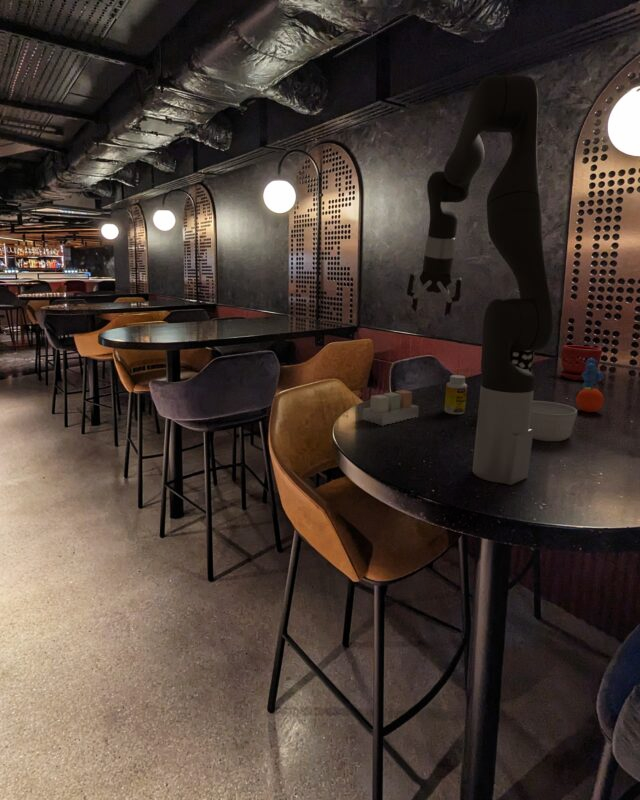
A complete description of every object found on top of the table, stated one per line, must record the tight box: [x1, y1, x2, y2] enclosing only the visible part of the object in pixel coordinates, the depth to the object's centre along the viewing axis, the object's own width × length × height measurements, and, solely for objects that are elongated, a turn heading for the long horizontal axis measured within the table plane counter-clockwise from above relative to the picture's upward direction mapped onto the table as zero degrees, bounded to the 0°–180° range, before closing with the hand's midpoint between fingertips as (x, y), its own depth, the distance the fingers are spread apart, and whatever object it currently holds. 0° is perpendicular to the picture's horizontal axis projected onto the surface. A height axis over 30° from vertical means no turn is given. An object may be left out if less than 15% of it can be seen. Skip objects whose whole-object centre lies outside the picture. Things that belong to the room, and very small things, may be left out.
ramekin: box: [529, 400, 578, 442], centre depth 121 cm, size 13×13×7 cm
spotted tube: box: [510, 350, 535, 373], centre depth 140 cm, size 8×8×20 cm
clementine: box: [575, 387, 605, 413], centre depth 143 cm, size 8×7×7 cm
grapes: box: [581, 357, 605, 390], centre depth 164 cm, size 12×7×12 cm, turn 151°
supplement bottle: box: [443, 374, 468, 415], centre depth 139 cm, size 6×6×10 cm
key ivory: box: [369, 394, 389, 413], centre depth 129 cm, size 3×3×4 cm
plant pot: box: [560, 344, 603, 381], centre depth 189 cm, size 13×13×12 cm
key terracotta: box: [394, 389, 413, 407], centre depth 135 cm, size 3×3×4 cm
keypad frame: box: [361, 403, 420, 427], centre depth 133 cm, size 7×14×3 cm, turn 130°
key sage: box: [382, 391, 401, 410], centre depth 132 cm, size 3×3×4 cm
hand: (430, 312), depth 141 cm, fingers open, 8 cm apart
